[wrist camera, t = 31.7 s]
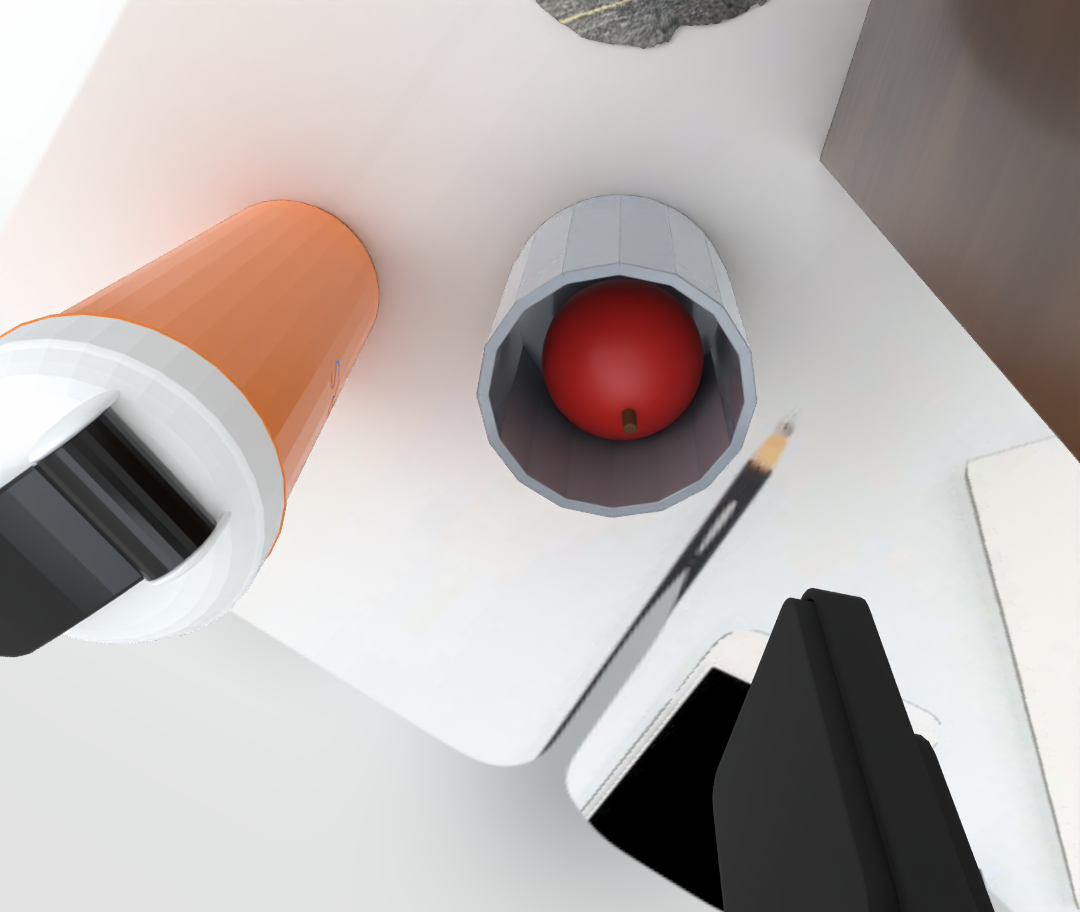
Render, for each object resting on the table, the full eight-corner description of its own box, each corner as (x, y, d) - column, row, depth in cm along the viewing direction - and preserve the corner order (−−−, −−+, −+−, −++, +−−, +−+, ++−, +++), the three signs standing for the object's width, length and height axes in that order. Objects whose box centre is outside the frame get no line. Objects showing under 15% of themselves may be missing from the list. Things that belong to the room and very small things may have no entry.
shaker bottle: (143, 275, 40) (-232, 543, 22) (282, 124, 37) (-32, 300, 19) (306, 423, 43) (84, 766, 25) (448, 295, 39) (307, 587, 22)
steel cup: (529, 172, 37) (503, 237, 29) (756, 220, 37) (791, 298, 29) (492, 380, 41) (460, 487, 33) (695, 422, 41) (712, 538, 33)
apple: (556, 235, 36) (562, 350, 31) (712, 259, 37) (741, 374, 32) (528, 360, 40) (530, 479, 35) (669, 378, 41) (689, 497, 36)
